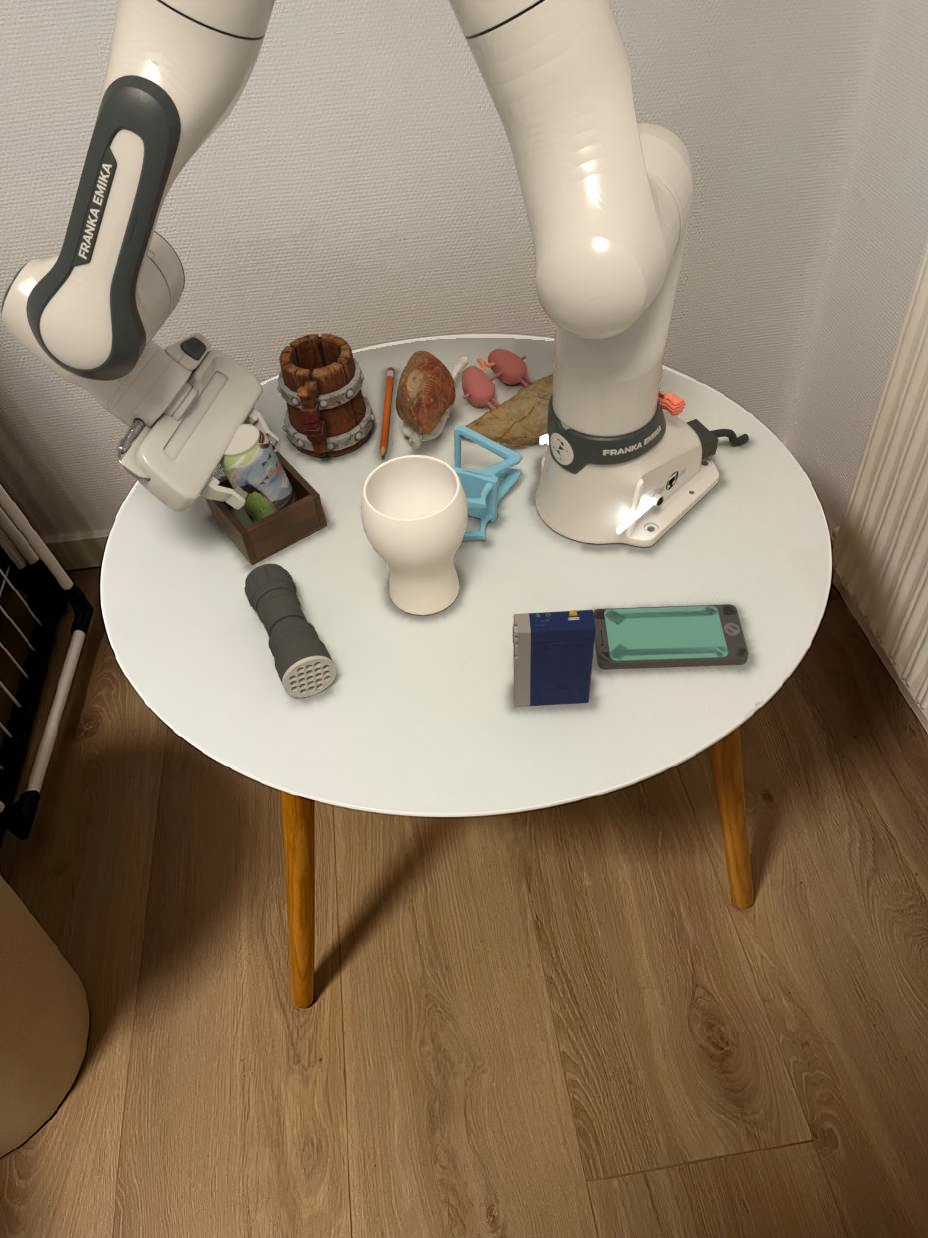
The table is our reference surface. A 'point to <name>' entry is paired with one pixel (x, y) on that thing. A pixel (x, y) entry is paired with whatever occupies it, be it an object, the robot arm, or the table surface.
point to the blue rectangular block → (553, 657)
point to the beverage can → (257, 473)
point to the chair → (484, 479)
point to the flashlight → (289, 632)
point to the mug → (323, 396)
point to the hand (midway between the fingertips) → (260, 474)
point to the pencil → (386, 411)
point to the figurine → (414, 434)
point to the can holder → (271, 519)
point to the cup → (416, 529)
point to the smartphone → (669, 636)
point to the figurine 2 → (503, 366)
